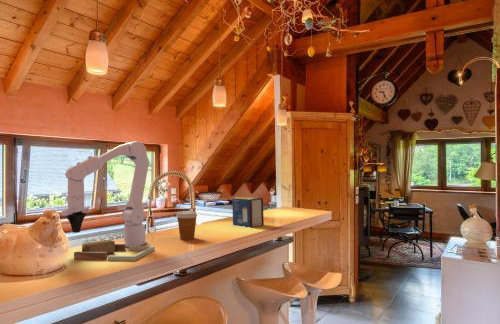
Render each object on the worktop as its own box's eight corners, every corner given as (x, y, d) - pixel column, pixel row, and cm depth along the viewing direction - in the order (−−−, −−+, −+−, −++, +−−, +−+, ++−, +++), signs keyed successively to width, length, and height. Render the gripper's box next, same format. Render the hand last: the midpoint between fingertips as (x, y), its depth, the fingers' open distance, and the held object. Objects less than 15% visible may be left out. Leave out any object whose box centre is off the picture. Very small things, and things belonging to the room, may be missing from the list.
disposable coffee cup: (172, 240, 162) (172, 213, 162) (182, 236, 171) (182, 211, 171) (192, 241, 159) (191, 214, 160) (201, 237, 168) (200, 211, 169)
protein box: (246, 222, 211) (245, 196, 212) (264, 225, 200) (263, 197, 200) (232, 224, 205) (231, 197, 205) (249, 227, 193) (249, 199, 193)
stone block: (116, 253, 139) (115, 240, 139) (84, 259, 131) (84, 245, 131) (110, 251, 143) (110, 238, 143) (79, 256, 135) (79, 243, 135)
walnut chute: (97, 249, 145) (97, 243, 145) (125, 250, 143) (125, 243, 143) (74, 259, 130) (73, 252, 130) (105, 259, 128) (105, 252, 128)
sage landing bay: (130, 249, 144) (130, 245, 144) (154, 249, 143) (154, 246, 143) (107, 260, 127) (107, 256, 127) (135, 260, 126) (135, 256, 126)
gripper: (77, 195, 146) (77, 229, 146) (53, 198, 131) (54, 235, 131) (93, 195, 145) (94, 229, 145) (71, 198, 131) (72, 235, 130)
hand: (76, 232), depth 138 cm, fingers closed
